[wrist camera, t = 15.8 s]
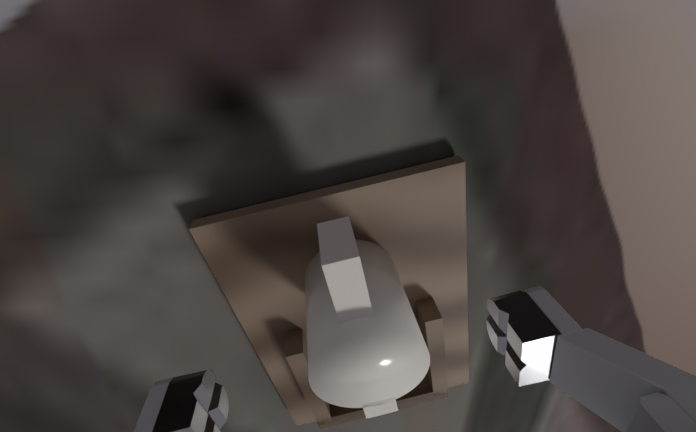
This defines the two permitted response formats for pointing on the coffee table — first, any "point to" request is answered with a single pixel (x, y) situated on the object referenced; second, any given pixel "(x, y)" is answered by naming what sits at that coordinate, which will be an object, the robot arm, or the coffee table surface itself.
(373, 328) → the white capsule with handle
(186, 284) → the coffee table surface
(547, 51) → the coffee table surface
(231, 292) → the cradle board
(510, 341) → the robot arm
